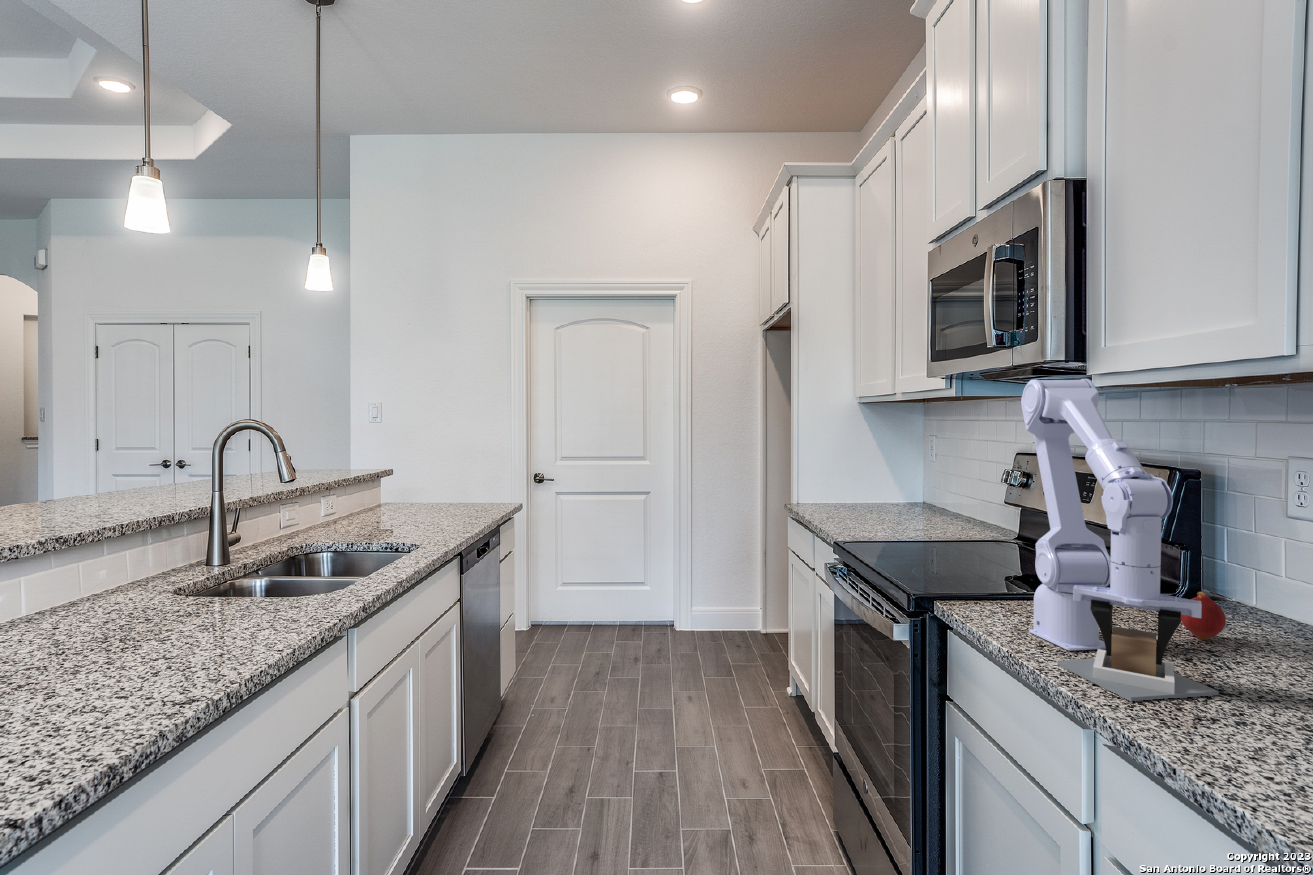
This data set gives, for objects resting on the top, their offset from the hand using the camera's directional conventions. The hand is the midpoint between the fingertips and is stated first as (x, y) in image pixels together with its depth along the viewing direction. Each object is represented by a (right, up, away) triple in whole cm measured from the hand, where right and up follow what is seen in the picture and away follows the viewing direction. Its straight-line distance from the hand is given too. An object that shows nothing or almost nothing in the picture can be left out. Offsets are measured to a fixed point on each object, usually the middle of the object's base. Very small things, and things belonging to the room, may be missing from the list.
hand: (1133, 658), depth 93 cm
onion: (+23, -3, +16) cm, 28 cm away
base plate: (0, -3, 0) cm, 3 cm away
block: (0, -2, 0) cm, 2 cm away
